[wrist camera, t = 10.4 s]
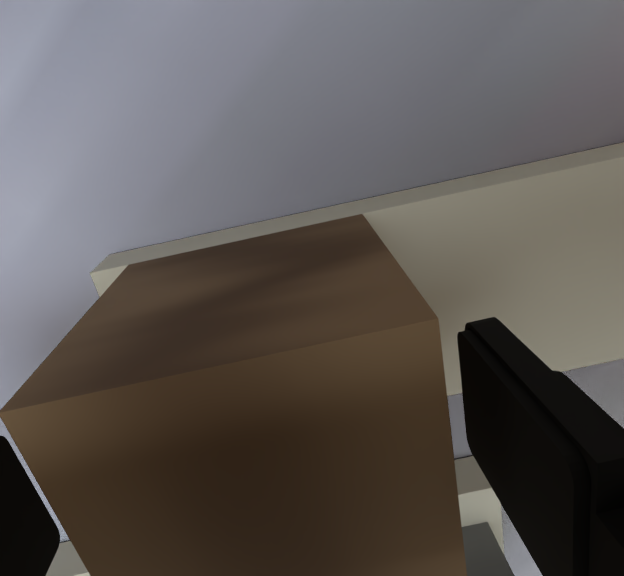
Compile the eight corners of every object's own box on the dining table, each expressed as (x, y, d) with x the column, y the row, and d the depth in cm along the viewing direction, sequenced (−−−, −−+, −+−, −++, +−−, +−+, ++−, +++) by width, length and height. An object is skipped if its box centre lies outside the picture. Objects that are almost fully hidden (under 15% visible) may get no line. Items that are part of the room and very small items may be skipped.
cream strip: (815, 100, 13) (1430, 105, 6) (776, 295, 15) (1190, 461, 8) (109, 254, 13) (-74, 429, 6) (175, 424, 16) (93, 688, 9)
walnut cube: (362, 213, 12) (438, 318, 6) (394, 407, 14) (471, 609, 9) (128, 264, 12) (-2, 413, 6) (198, 449, 14) (147, 677, 9)
